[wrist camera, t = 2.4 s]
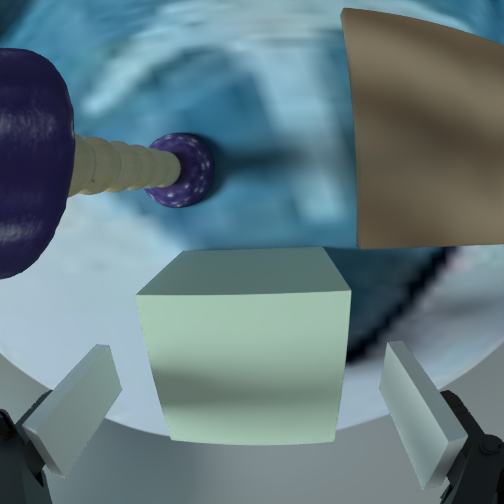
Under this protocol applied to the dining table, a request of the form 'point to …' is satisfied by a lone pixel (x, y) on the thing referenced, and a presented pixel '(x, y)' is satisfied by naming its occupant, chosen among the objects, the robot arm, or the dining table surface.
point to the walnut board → (425, 132)
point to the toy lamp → (73, 161)
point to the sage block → (248, 345)
